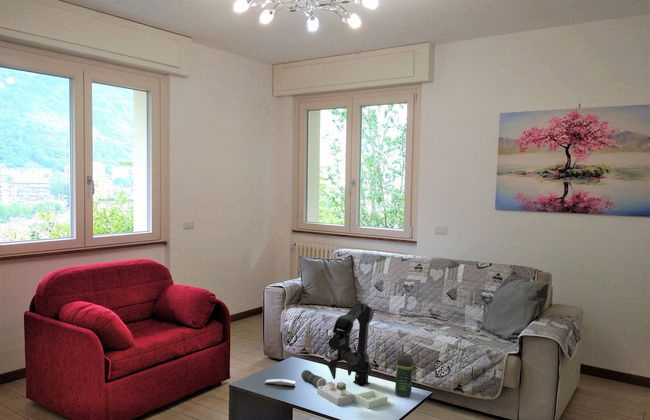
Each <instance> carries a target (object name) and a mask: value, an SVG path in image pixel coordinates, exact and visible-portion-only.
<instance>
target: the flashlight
mask: <svg viewBox="0 0 650 420" xmlns="http://www.w3.org/2000/svg"><path fill="white" fill-rule="evenodd" d="M301 379H302V380H303V381H305V382H309V383H311V384H312V385H313V386H314V387H315V388H317V387H320V386H325V385H326V383H327V380H326V378H325V377H323V376H321V375H320V376H319V375H317V374H316V375H315V374H314V373H312V371H310V370H309V369H308V370H307V369H304V370H303V371H302V372H301Z"/></svg>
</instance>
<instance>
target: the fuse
mask: <svg viewBox="0 0 650 420" xmlns="http://www.w3.org/2000/svg"><path fill="white" fill-rule="evenodd" d="M335 385H336V383H335V382H332V381H329V382H326V389H328V390H333V389H335Z"/></svg>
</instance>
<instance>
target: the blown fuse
mask: <svg viewBox="0 0 650 420" xmlns="http://www.w3.org/2000/svg"><path fill="white" fill-rule="evenodd" d="M336 385H337V388H336V389H337V391H336V394H337V395H339V396H343V395H345V391H347V390H346V389H347V384H346V383H345V382H343V381H340V382H337V383H336Z"/></svg>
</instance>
